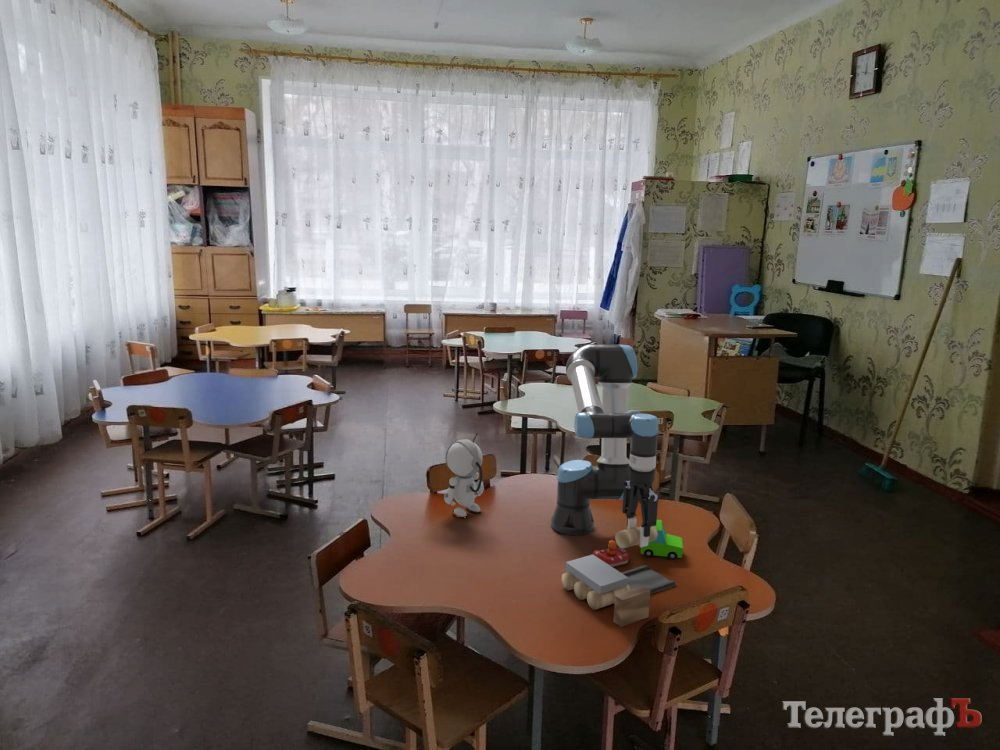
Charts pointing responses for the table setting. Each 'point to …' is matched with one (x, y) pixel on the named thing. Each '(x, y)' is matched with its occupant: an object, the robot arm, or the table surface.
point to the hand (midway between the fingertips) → (637, 541)
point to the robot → (464, 475)
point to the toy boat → (612, 555)
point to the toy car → (664, 544)
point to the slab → (596, 574)
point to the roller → (633, 536)
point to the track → (623, 594)
